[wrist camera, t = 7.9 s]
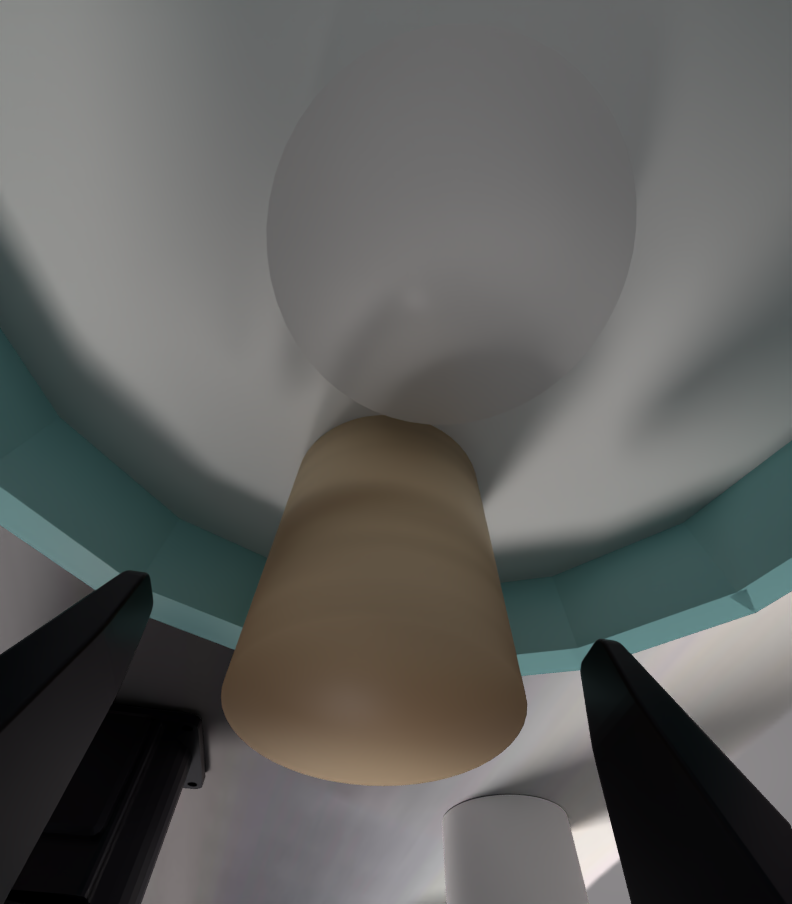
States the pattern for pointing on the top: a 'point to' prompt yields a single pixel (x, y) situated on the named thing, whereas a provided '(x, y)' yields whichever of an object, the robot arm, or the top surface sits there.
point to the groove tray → (405, 290)
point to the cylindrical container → (510, 853)
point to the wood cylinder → (379, 618)
